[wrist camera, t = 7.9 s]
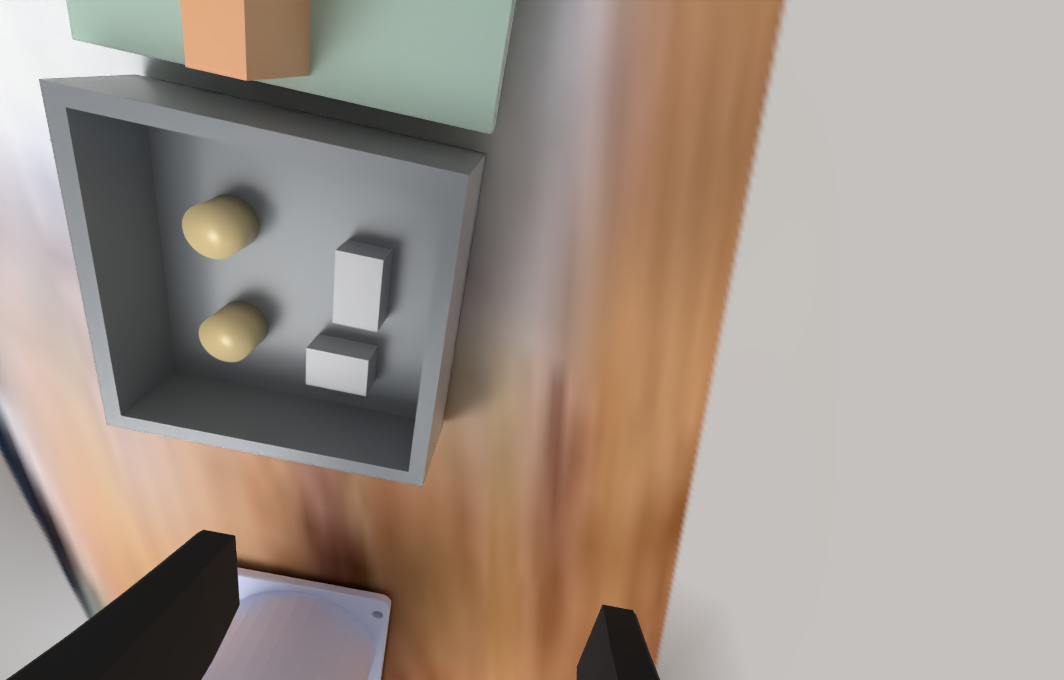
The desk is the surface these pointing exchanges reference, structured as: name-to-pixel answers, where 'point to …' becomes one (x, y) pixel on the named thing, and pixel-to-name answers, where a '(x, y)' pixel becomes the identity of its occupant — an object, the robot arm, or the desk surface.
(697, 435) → the desk surface
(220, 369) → the tub
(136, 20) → the lid
